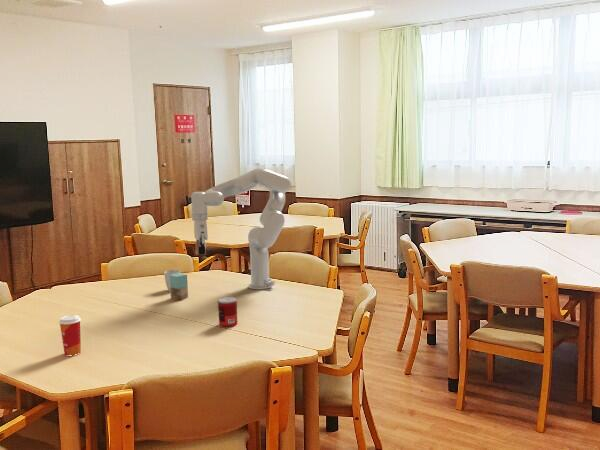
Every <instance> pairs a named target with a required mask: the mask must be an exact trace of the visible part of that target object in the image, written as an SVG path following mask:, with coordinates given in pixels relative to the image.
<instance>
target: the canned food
mask: <svg viewBox="0 0 600 450" xmlns="http://www.w3.org/2000/svg"><path fill="white" fill-rule="evenodd" d="M217 309H218V324H219V326H220V327H222V328H232V327H236V325H238V301H237V297H234V296H226V297H221V298H219V299H218V300H217Z"/></svg>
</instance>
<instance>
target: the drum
mask: <svg viewBox="0 0 600 450" xmlns="http://www.w3.org/2000/svg"><path fill="white" fill-rule="evenodd" d="M194 243H195V244H194V245H195V256H200V255H199V242H194ZM200 244H201V242H200ZM206 246H207V245H206V241H205V254H202V255H201V256H206V255H207V250H206V249H207V247H206Z"/></svg>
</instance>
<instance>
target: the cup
mask: <svg viewBox="0 0 600 450" xmlns="http://www.w3.org/2000/svg"><path fill="white" fill-rule="evenodd" d="M163 273H164V274H163V275H164V280H165V286H166V288H167V290H168V292H171V287H170V275H173V274H178V273H181V270H179V269H169V270H165V271H164V272H163Z"/></svg>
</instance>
